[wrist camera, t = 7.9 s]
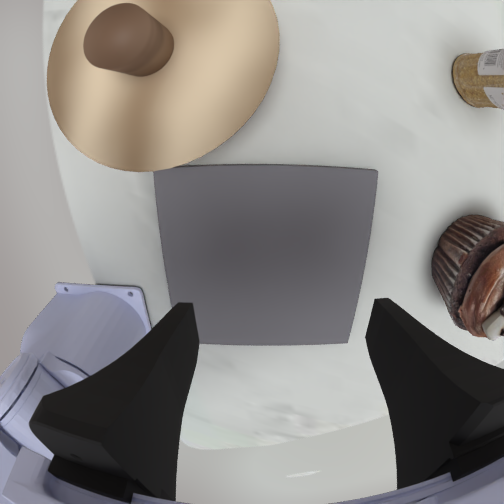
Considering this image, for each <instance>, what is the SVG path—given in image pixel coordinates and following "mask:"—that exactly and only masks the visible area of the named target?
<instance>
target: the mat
mask: <svg viewBox="0 0 504 504" xmlns="http://www.w3.org/2000/svg"><path fill="white" fill-rule="evenodd" d="M153 173H154V184H155V194H156V204H157V213H158V221H159V229H160V237H161V244H162V251H163V258H164V265H165V271H166V277H167V283H168V289H169V295H170V300H171V306H172V308H173V307H174V306H175V305H176V304H177V303H178V302H187V303H193V306H194V312H195V318H196V324H197V330H198V335H199V341H200V342H199V344H220V345H320V344H341V343H348V340H349V336H350V332H351V328H352V324H353V320H354V316H355V311H356V307H357V302H358V298H359V293H360V289H361V284H362V279H363V274H364V268H365V263H366V258H367V252H368V246H369V240H370V234H371V227H372V220H373V213H374V205H375V197H376V188H377V179H378V171H377V170H373V169H361V168H348V167H332V166H313V165H283V164H222V165H192V166H176V167H173V168H170V169H164V170H158V171H153Z"/></svg>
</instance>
